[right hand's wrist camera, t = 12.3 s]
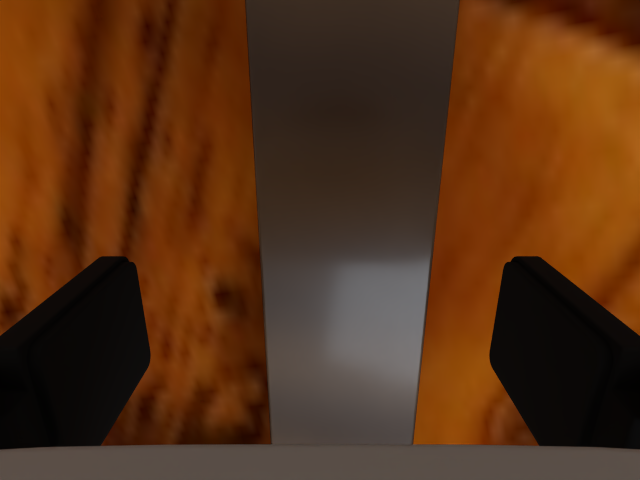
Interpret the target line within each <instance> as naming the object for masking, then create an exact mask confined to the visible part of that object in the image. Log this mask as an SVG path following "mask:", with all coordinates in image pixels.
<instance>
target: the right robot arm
mask: <svg viewBox="0 0 640 480" xmlns="http://www.w3.org/2000/svg"><path fill="white" fill-rule="evenodd" d="M149 363H150V347H149V341H148V335H147V329H146V323H145V317H144V311H143V305H142V299H141V292H140V286H139V280H138V274H137V269H136V265H135V264H134V263H133V262H129V260H128V259H127V258H126V257H123V256H102V257H100V258H98V259H97V260H96V261H94V262H93V263H92V264H91V265H89V266H88V267H87V268H86V269H84V270H83V271H82V272H80V273H79V274H78V275H77V276H75V277H74V278H73V279H72V280H70V281H69V282H68V283H67V284H65V285H64V286H63V287H62V288H60V289H59V290H58V291H56V292H55V293H54V294H53V295H51V296H50V297H49V298H48V299H46V300H45V301H44V302H43V303H41V304H40V305H39V306H38V307H36V308H35V309H34V310H32V311H31V312H30V313H29V314H27V315H26V316H25V317H24V318H22V319H21V320H20V321H19V322H17V323H16V324H15V325H14V326H12V327H11V328H10V329H8V330H7V331H6V332H5V333H3V334H2V335H1V336H0V480H640V336H639V335H638V334H637V333H635V332H634V331H633V330H632V329H630V328H629V327H628V326H626V325H625V324H624V323H623V322H621V321H620V320H619V319H618V318H616V317H615V316H614V315H613V314H611V313H610V312H609V311H608V310H606V309H605V308H604V307H602V306H601V305H600V304H599V303H597V302H596V301H595V300H594V299H592V298H591V297H590V296H589V295H587V294H586V293H585V292H584V291H582V290H581V289H580V288H578V287H577V286H576V285H575V284H573V283H572V282H571V281H570V280H568V279H567V278H566V277H565V276H563V275H562V274H561V273H560V272H558V271H557V270H556V269H554V268H553V267H552V266H551V265H549V264H548V263H547V262H546V261H544V260H543V259H542V258H540V257H538V256H517V257H514V258H513V259H512V260H511V262H507V263H506V264H505V265H504V269H503V274H502V280H501V286H500V292H499V298H498V305H497V311H496V317H495V323H494V329H493V335H492V341H491V347H490V363H491V366H492V368H493V370H494V371H495V373H496V375H497V376H498V378H499V380H500V381H501V383H502V385H503V386H504V388H505V390H506V391H507V393H508V395H509V396H510V398H511V400H512V401H513V403H514V405H515V406H516V408H517V410H518V411H519V413H520V414H521V416H522V418H523V419H524V421H525V423H526V424H527V426H528V428H529V429H530V431H531V433H532V434H533V436H534V438H535V439H536V441H537V443H538V444H539V446H510V445H399V444H241V445H130V446H101V444H102V443H103V441H104V439H105V438H106V436H107V434H108V433H109V431H110V429H111V428H112V426H113V424H114V423H115V421H116V419H117V418H118V416H119V414H120V413H121V411H122V410H123V408H124V406H125V405H126V403H127V401H128V400H129V398H130V396H131V395H132V393H133V391H134V390H135V388H136V386H137V385H138V383H139V381H140V380H141V378H142V376H143V375H144V373H145V371H146V370H147V368H148V366H149Z"/></svg>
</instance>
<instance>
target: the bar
mask: <svg viewBox="0 0 640 480" xmlns="http://www.w3.org/2000/svg"><path fill="white" fill-rule="evenodd" d="M459 2H460V0H245V7H246V24H247V42H248V59H249V76H250V93H251V110H252V127H253V144H254V161H255V178H256V195H257V212H258V230H259V247H260V264H261V281H262V298H263V315H264V332H265V349H266V366H267V383H268V400H269V418H270V435H271V444H399V445H413V439H414V429H415V420H416V410H417V401H418V391H419V382H420V372H421V363H422V353H423V344H424V334H425V325H426V315H427V306H428V296H429V287H430V277H431V268H432V258H433V249H434V239H435V230H436V220H437V211H438V201H439V192H440V182H441V173H442V163H443V154H444V144H445V135H446V125H447V116H448V106H449V97H450V87H451V78H452V68H453V59H454V49H455V40H456V30H457V21H458V11H459Z"/></svg>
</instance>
